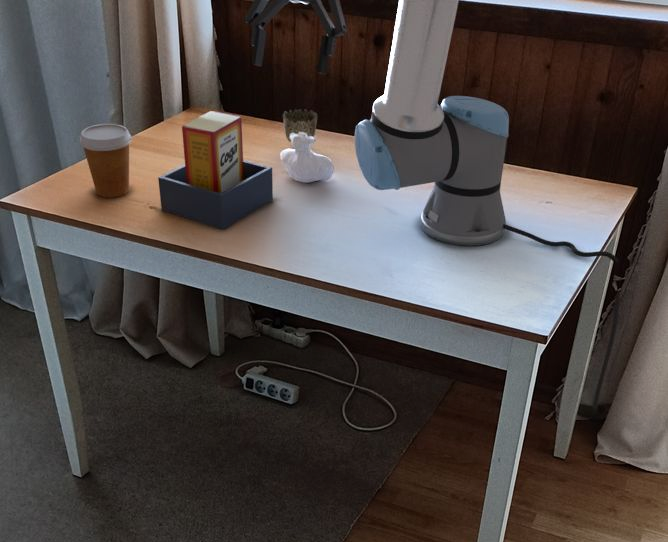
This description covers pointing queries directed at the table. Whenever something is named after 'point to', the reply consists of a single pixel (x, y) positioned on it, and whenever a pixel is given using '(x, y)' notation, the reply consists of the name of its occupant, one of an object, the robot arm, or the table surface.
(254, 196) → the bin
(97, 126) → the disposable coffee cup
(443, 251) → the table surface
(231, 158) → the baking soda box
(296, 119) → the cup
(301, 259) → the table surface
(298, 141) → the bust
